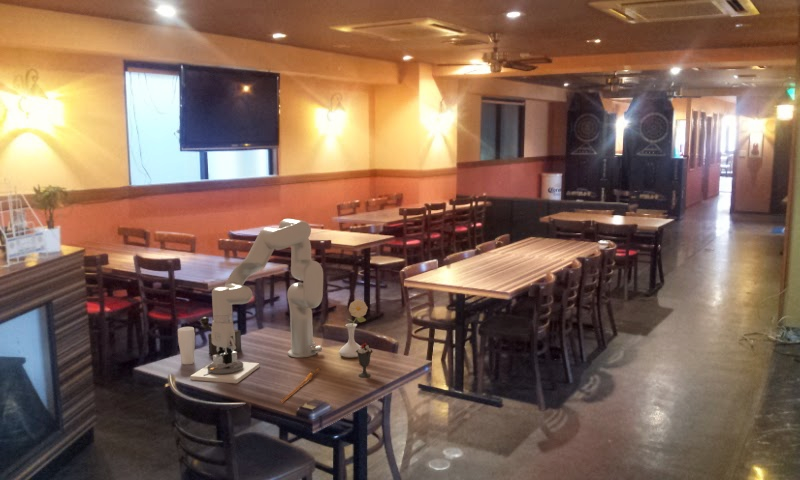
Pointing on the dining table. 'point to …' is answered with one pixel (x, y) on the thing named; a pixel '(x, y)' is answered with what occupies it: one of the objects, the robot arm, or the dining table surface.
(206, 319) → the coffee grinder
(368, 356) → the sundae
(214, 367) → the dial
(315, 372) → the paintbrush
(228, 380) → the dial plate
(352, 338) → the flower in vase
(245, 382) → the dining table surface
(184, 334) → the drinking glass
